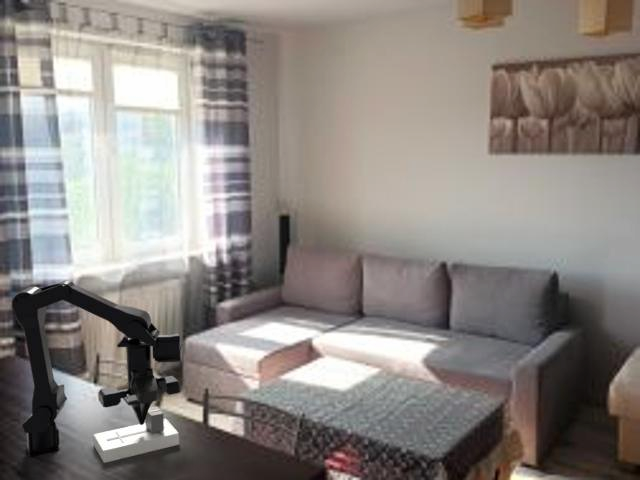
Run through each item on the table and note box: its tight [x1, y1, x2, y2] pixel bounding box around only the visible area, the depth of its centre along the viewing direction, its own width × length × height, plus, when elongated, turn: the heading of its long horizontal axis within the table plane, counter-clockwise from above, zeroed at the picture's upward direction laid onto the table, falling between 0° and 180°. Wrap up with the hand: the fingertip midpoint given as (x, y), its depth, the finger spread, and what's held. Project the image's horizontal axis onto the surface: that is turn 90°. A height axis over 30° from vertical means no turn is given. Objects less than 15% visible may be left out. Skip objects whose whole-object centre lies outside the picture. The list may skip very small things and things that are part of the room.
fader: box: [145, 406, 164, 433], centre depth 158 cm, size 3×5×5 cm, turn 32°
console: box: [93, 418, 180, 464], centre depth 157 cm, size 18×10×3 cm, turn 122°
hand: (141, 424), depth 157 cm, fingers closed
